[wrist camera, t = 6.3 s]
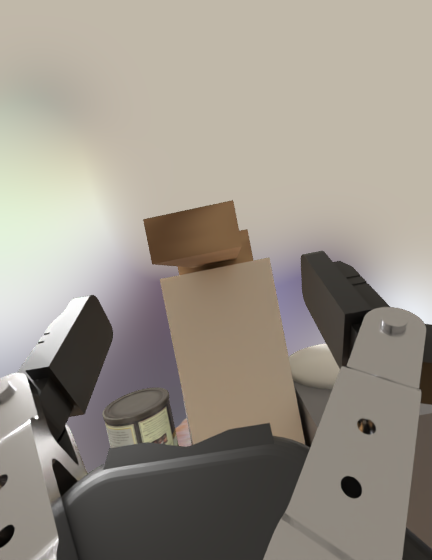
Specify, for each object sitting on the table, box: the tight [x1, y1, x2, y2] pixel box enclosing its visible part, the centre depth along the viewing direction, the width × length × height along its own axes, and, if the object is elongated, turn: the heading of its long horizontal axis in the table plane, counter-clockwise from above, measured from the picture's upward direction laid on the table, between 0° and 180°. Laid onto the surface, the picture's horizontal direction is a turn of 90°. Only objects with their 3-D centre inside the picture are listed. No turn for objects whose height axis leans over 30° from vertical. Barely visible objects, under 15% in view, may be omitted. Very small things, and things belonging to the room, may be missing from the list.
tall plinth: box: [160, 258, 305, 445], centre depth 30 cm, size 9×14×32 cm, turn 177°
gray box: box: [289, 344, 432, 549], centre depth 26 cm, size 10×15×21 cm, turn 177°
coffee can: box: [103, 388, 179, 448], centre depth 45 cm, size 10×10×14 cm
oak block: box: [143, 200, 253, 275], centre depth 24 cm, size 7×23×3 cm, turn 177°
